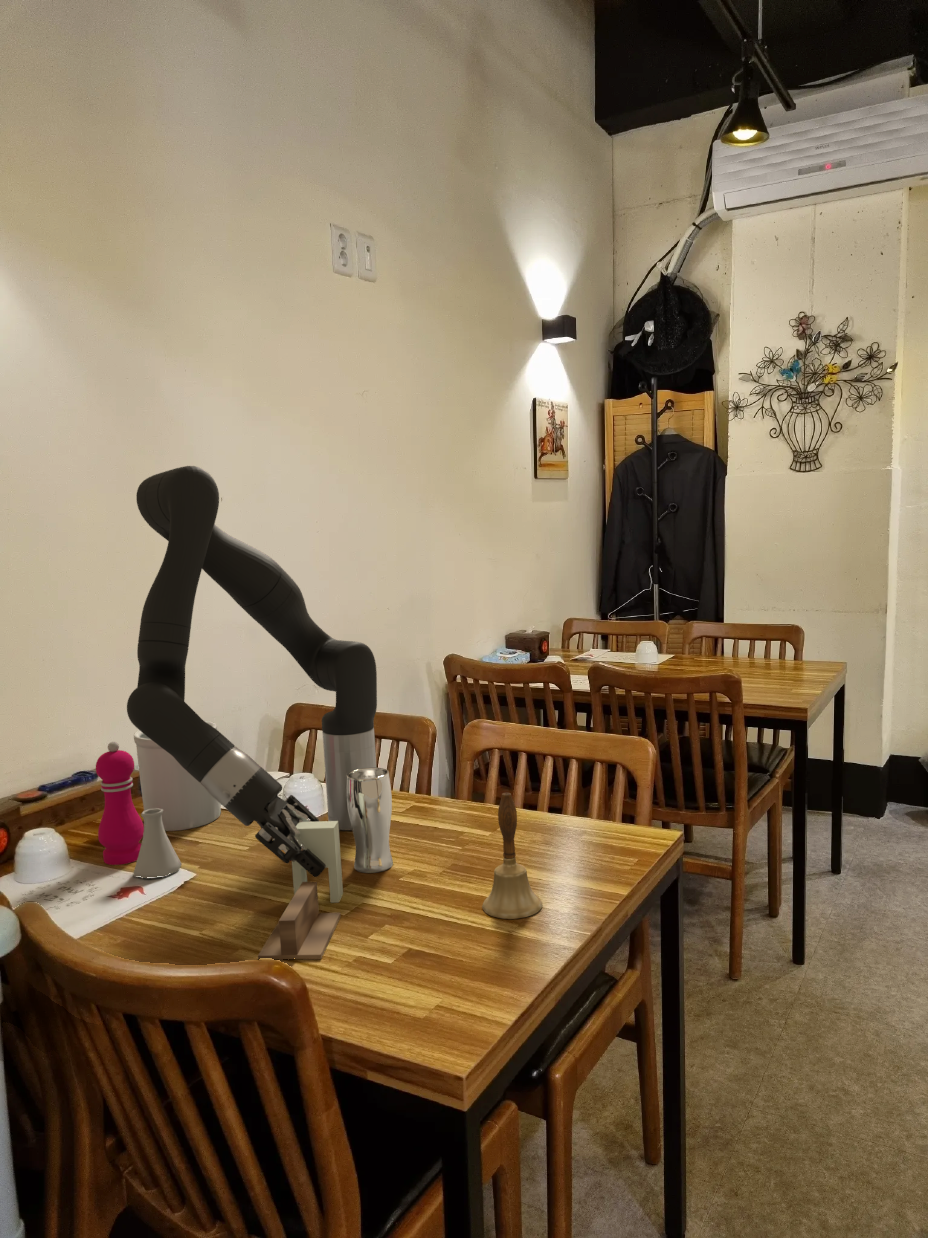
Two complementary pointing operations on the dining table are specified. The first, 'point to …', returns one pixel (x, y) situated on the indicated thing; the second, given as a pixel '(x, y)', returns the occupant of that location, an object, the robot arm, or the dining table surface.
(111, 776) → the pepper mill
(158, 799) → the utensil holder
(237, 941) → the dining table surface
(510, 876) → the hand bell
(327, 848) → the pale slotted block
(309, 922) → the walnut rail
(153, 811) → the flask
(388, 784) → the beer glass
